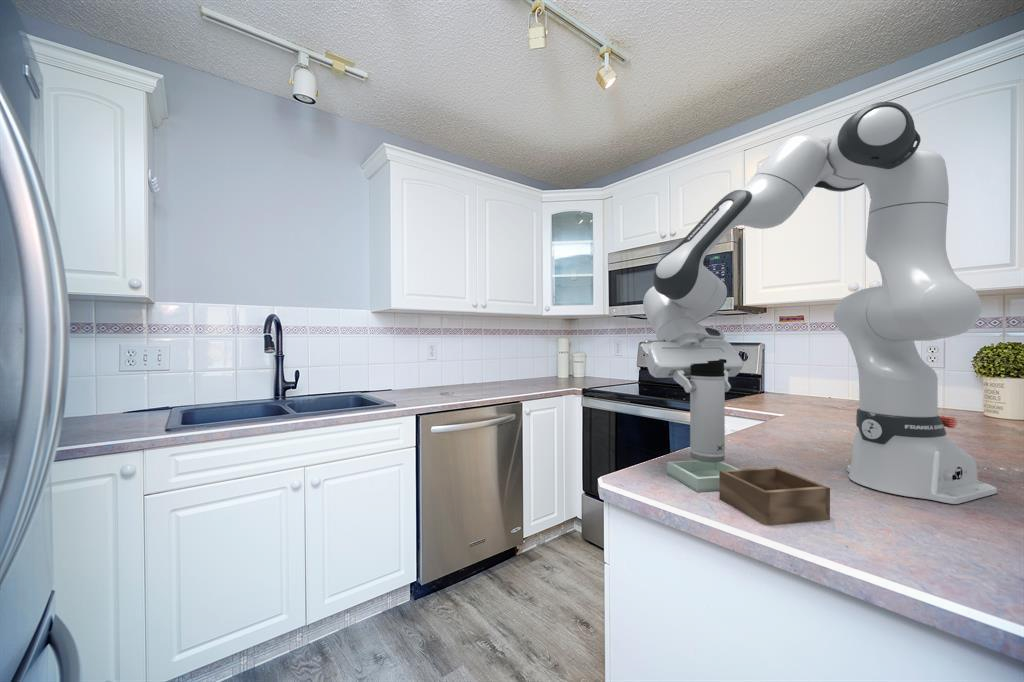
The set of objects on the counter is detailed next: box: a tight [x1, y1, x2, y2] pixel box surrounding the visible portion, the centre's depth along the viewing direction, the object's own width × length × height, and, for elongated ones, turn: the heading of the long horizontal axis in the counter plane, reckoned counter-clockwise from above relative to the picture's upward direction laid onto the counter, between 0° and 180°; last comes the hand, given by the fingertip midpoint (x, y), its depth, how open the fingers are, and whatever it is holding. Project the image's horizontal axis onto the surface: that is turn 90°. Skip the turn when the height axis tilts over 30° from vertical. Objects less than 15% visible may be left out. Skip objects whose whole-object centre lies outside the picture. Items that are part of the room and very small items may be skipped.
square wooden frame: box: [718, 466, 831, 526], centre depth 69 cm, size 12×11×5 cm
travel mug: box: [689, 359, 727, 463], centre depth 83 cm, size 6×7×20 cm
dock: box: [666, 459, 740, 493], centre depth 83 cm, size 12×11×2 cm
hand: (709, 390), depth 82 cm, fingers closed on travel mug, 6 cm apart
